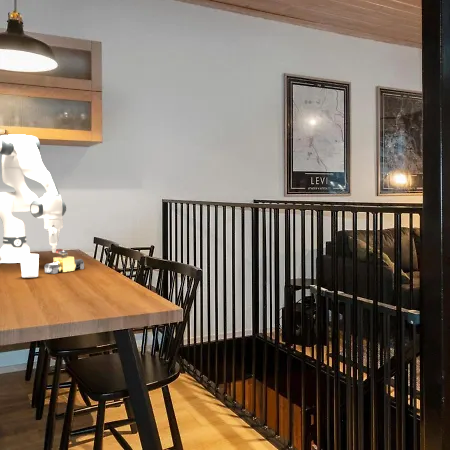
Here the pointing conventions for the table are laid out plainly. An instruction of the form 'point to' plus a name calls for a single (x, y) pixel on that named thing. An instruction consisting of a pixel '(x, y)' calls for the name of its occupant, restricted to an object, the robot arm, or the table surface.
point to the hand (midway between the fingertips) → (54, 252)
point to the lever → (61, 252)
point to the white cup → (29, 265)
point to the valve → (64, 264)
